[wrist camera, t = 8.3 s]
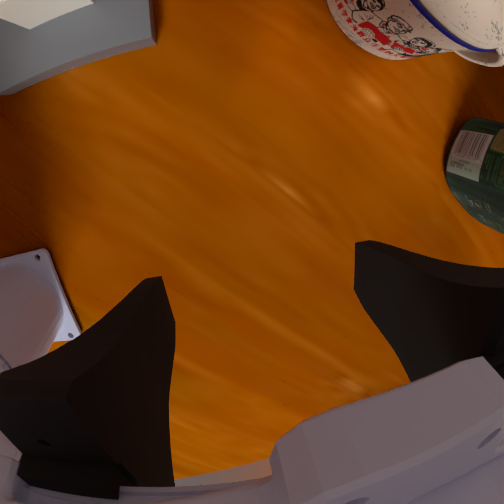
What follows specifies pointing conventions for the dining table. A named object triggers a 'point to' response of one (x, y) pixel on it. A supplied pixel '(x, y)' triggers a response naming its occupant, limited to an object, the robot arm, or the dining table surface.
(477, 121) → the coffee jar
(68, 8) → the cream cube
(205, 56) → the dining table surface
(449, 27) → the teacup with lid
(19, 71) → the slate block
